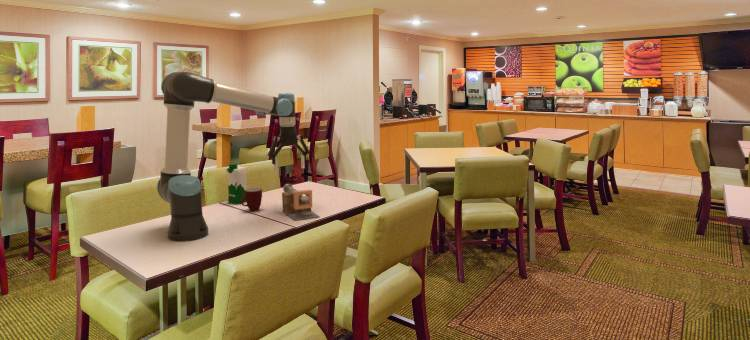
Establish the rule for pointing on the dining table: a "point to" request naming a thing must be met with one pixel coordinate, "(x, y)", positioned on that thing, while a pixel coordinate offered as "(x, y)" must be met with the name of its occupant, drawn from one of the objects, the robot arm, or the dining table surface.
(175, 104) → the robot arm
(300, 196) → the shaft
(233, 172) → the milk carton
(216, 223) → the dining table surface
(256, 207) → the mug
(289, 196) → the cradle block
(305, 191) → the frame
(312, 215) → the mat
